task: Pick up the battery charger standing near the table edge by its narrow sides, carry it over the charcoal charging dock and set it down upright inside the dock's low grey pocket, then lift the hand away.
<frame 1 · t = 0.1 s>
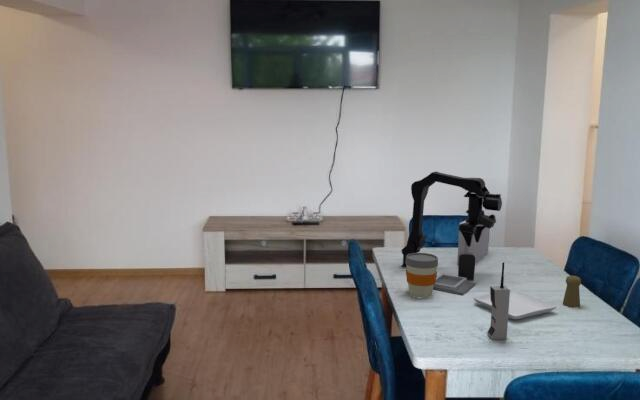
hand: (473, 244, 241), 15 cm above the table, tool pointing down, fingers open, 9 cm apart
game console: (472, 260, 270), on the table
cork: (571, 305, 211), on the table
salad plate: (513, 310, 207), on the table
battery charger: (465, 279, 241), on the table
reusable coffee cup: (420, 294, 222), on the table
vintage mobile phone: (496, 338, 182), on the table
charging dock: (447, 286, 232), on the table
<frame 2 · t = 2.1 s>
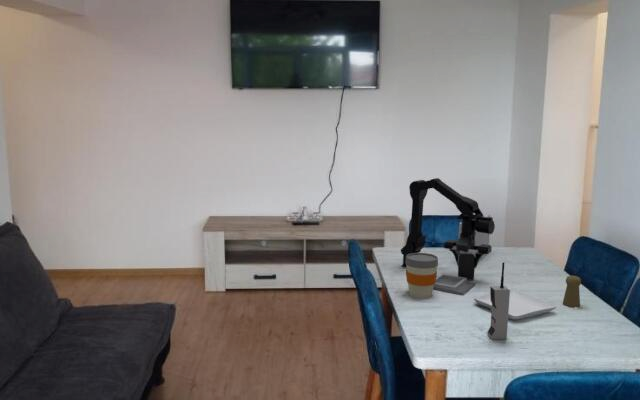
hand: (466, 266, 240), 6 cm above the table, tool pointing down, fingers closed on battery charger, 7 cm apart
battery charger: (465, 279, 241), on the table, touching gripper
everything else where it was.
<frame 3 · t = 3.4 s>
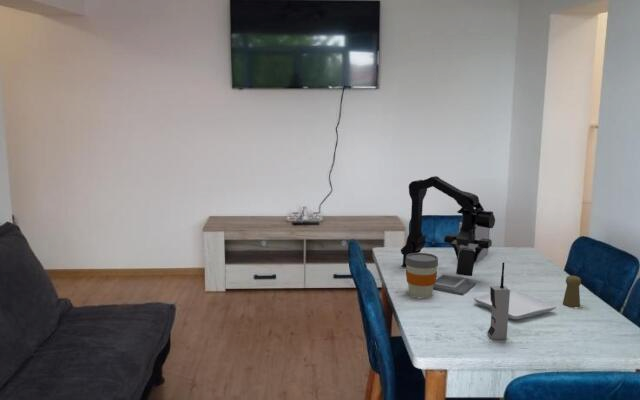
hand: (466, 260, 239), 8 cm above the table, tool pointing down, fingers closed on battery charger, 7 cm apart
battery charger: (463, 274, 241), point 2 cm above the table, touching gripper
everything else where it was.
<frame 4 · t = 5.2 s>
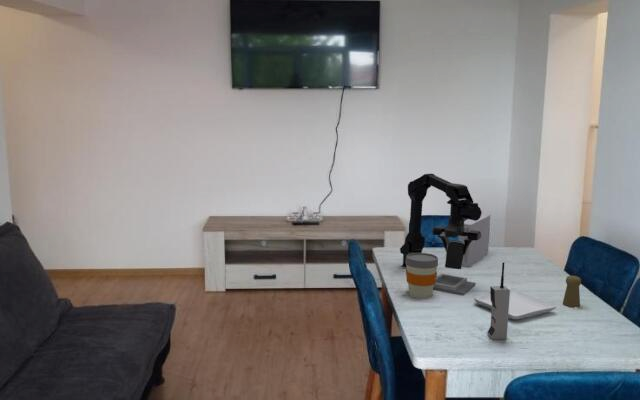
hand: (455, 253, 232), 13 cm above the table, tool pointing down, fingers closed on battery charger, 7 cm apart
battery charger: (452, 267, 234), point 7 cm above the table, touching gripper
everything else where it was.
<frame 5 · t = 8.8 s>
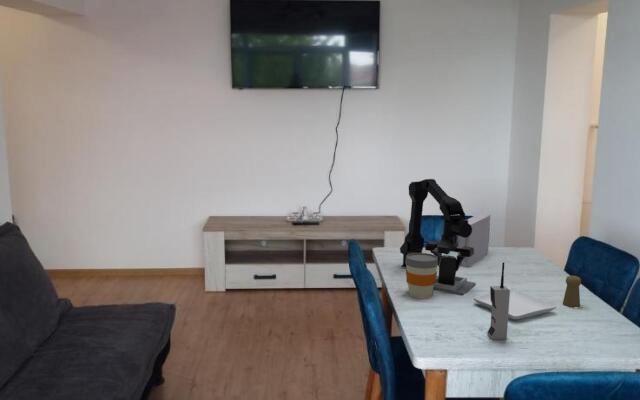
hand: (448, 269, 230), 7 cm above the table, tool pointing down, fingers closed on battery charger, 7 cm apart
battery charger: (445, 282, 232), point 1 cm above the table, touching charging dock, gripper
everything else where it was.
when the fingers open (7 cm above the table, at t = 8.9 s): battery charger stays where it is, resting on charging dock.
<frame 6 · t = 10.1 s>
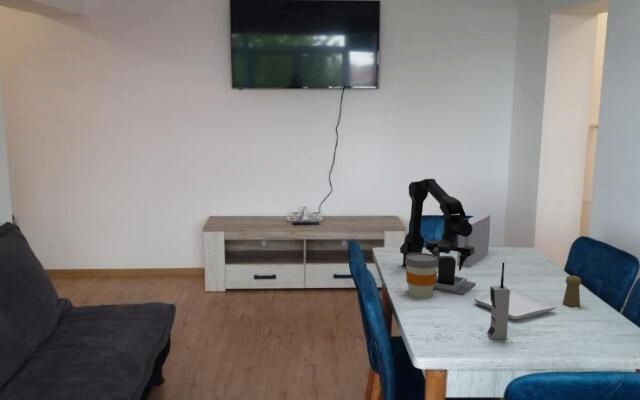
hand: (448, 268, 230), 7 cm above the table, tool pointing down, fingers open, 9 cm apart
battery charger: (445, 283, 232), point 1 cm above the table, touching charging dock, gripper
everything else where it was.
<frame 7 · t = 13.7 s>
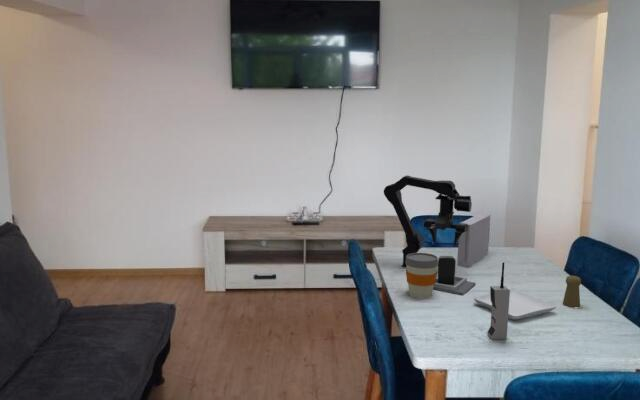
hand: (444, 244, 250), 12 cm above the table, tool pointing down, fingers open, 9 cm apart
battery charger: (445, 283, 232), point 1 cm above the table, touching charging dock
everything else where it was.
at the end: battery charger 1.1 cm off-centre on the charging dock, point 0.8 cm above the charging dock's base; battery charger tilted 0°; the gripper is holding nothing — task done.
